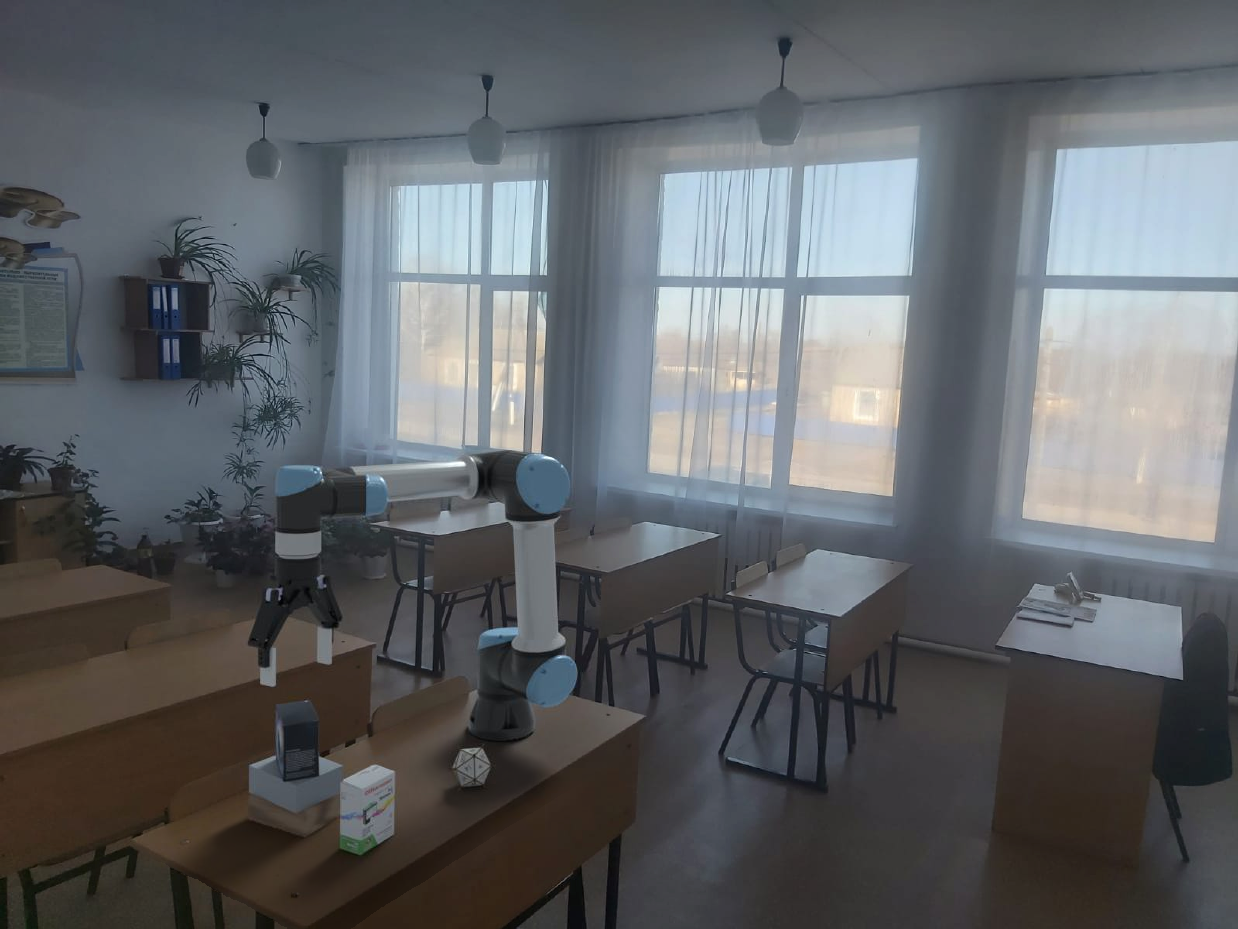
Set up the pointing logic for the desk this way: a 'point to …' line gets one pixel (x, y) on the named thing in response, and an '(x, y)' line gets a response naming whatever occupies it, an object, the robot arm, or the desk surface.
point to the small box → (297, 740)
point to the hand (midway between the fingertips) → (297, 673)
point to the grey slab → (294, 784)
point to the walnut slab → (294, 815)
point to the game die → (471, 767)
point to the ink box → (367, 809)
